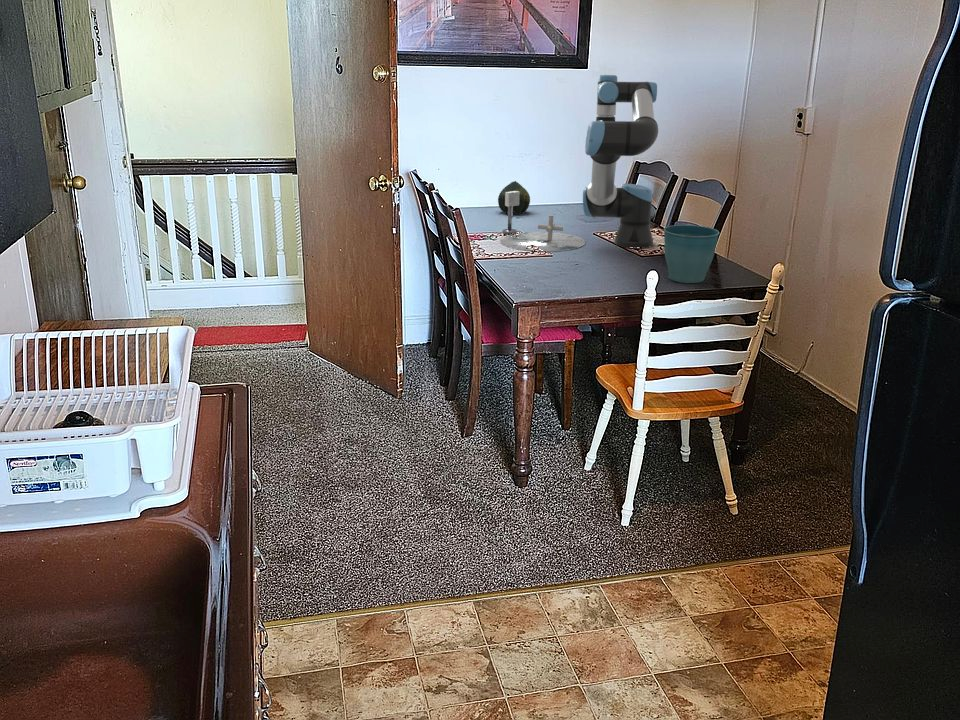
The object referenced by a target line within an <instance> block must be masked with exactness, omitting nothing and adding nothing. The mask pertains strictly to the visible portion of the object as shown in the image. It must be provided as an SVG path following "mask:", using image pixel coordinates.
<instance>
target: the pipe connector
mask: <svg viewBox="0 0 960 720" xmlns="http://www.w3.org/2000/svg"><path fill="white" fill-rule="evenodd" d="M554 218H555V217H554V214H549V215H548V224H540V223H539V224H537V229H538V230H545V232H548V239H547V240H552V232H554V231H559V232H563V231H564V226H560V225H559V226H558V225H556V224H555V222H554Z"/></svg>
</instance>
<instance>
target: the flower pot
mask: <svg viewBox="0 0 960 720" xmlns="http://www.w3.org/2000/svg"><path fill="white" fill-rule="evenodd" d="M663 232H664V247H663V248H664V257H665V262H666V265H667V270H668V278H669V279H670V280H671V281H674V282H678V283H683V284H697V283H702V282H704V281H705V279H706V275H707V272H708V270H709V268H710V266H711V264H712V261H713V259H714V256H715V252H716V249H717V248H716V247H717V242H718V239H719V236H720V231H719V230H718V229H715V228H713V227H710V226H709V227H708V226H702V225H691V224H677V225H676V224H674V225H668V226H666V227H664V228H663Z"/></svg>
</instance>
